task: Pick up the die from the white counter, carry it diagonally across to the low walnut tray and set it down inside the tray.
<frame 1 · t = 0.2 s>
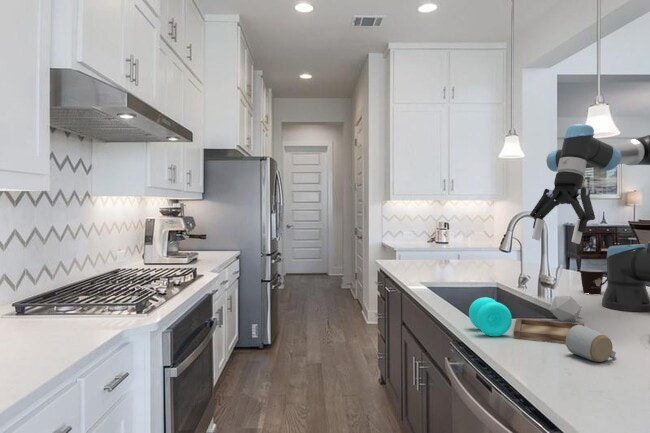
hand: (554, 241, 131), 27 cm above the worktop, tool tilted 15°, fingers open, 13 cm apart
ceramic mug: (592, 358, 107), on the worktop
die: (565, 320, 143), on the worktop
tray: (549, 334, 127), on the worktop
donuts: (489, 333, 130), on the worktop
coffee mug: (595, 294, 186), on the worktop
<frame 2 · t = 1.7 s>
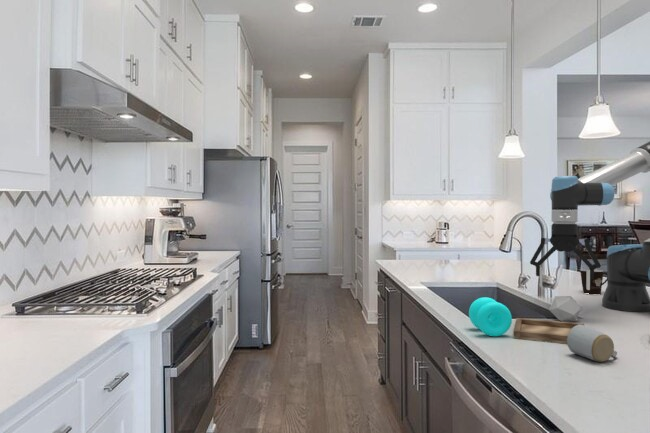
hand: (564, 287, 143), 11 cm above the worktop, tool pointing down, fingers open, 13 cm apart
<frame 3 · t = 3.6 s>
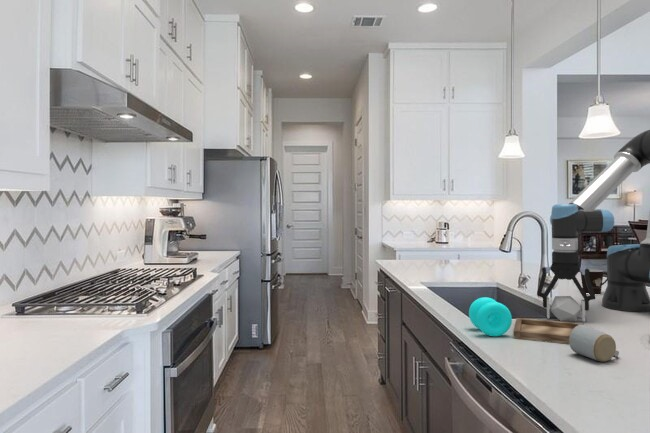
hand: (565, 318, 143), 0 cm above the worktop, tool pointing down, fingers closed on die, 9 cm apart
die: (565, 320, 143), on the worktop, touching gripper
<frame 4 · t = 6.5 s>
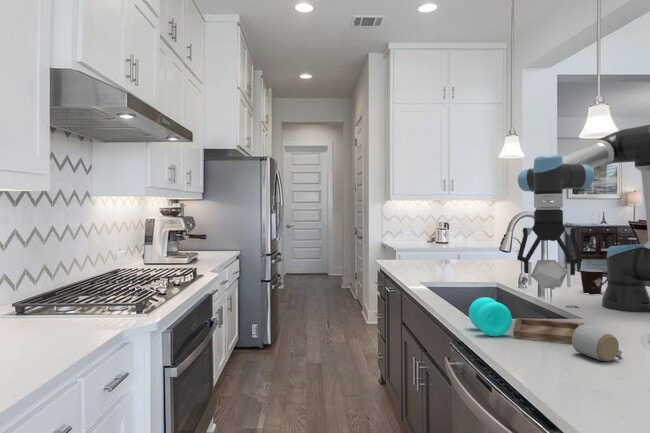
hand: (549, 285, 127), 14 cm above the worktop, tool pointing down, fingers closed on die, 9 cm apart
die: (549, 287, 127), point 14 cm above the worktop, touching gripper
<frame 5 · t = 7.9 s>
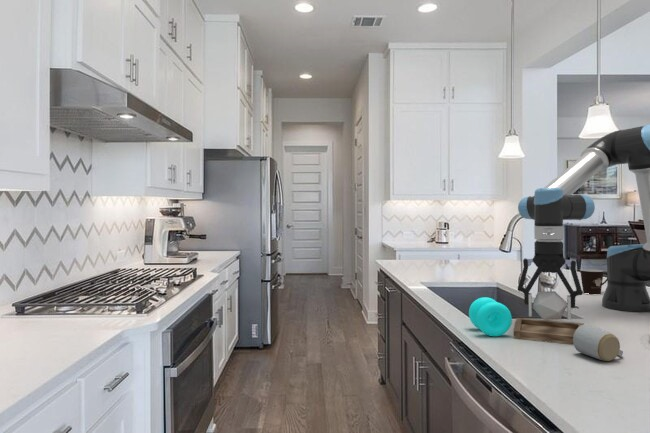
hand: (549, 317, 127), 5 cm above the worktop, tool pointing down, fingers closed on die, 9 cm apart
die: (549, 318, 127), point 4 cm above the worktop, touching gripper
when the fingers open (2 cm above the worktop, at t = 9.4 s): die drops 2 cm, resting on tray.
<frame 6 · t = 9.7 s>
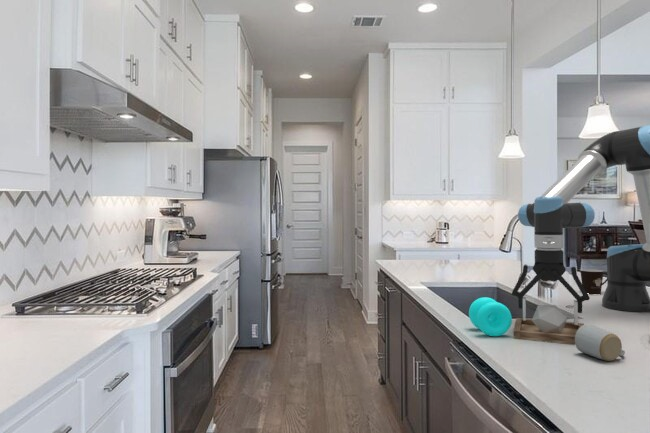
hand: (549, 321, 127), 4 cm above the worktop, tool pointing down, fingers open, 13 cm apart
die: (549, 332, 127), resting on tray
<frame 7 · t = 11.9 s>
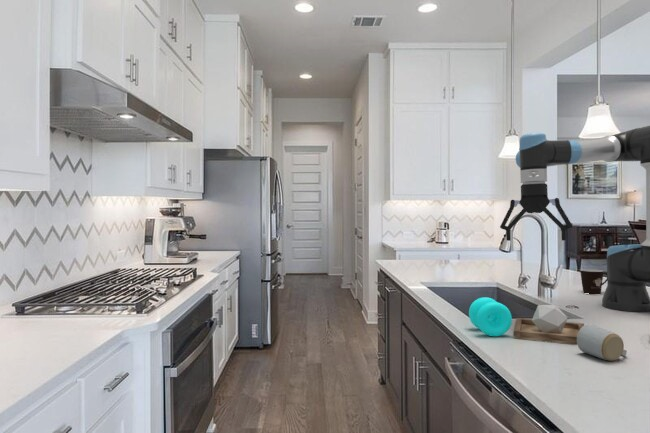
hand: (535, 251, 136), 23 cm above the worktop, tool pointing down, fingers open, 13 cm apart
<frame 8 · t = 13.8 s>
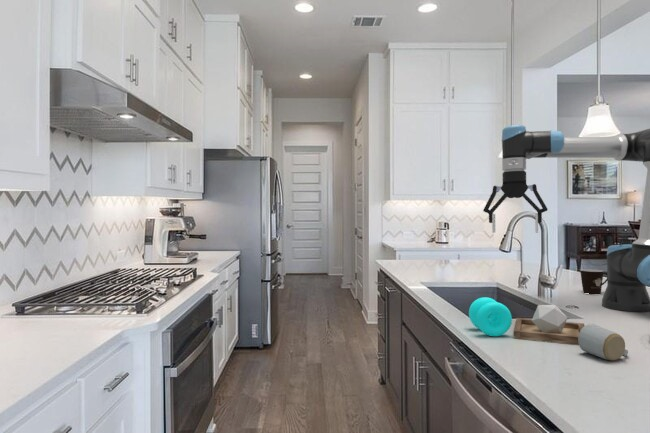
hand: (514, 232, 150), 29 cm above the worktop, tool pointing down, fingers open, 13 cm apart
at the end: die inside the target area on the tray (0.0 cm from its centre), point 0.4 cm above the tray's base; the gripper is holding nothing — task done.
